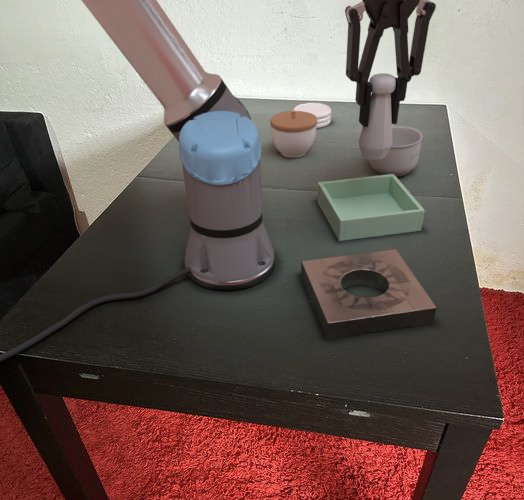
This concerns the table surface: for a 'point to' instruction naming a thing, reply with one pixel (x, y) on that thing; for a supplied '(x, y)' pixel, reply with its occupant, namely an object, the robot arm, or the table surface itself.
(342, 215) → the green square tray
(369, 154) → the salt shaker
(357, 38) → the robot arm
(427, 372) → the table surface
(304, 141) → the trinket box
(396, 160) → the teacup
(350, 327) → the drain plate
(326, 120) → the coaster
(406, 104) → the table surface
